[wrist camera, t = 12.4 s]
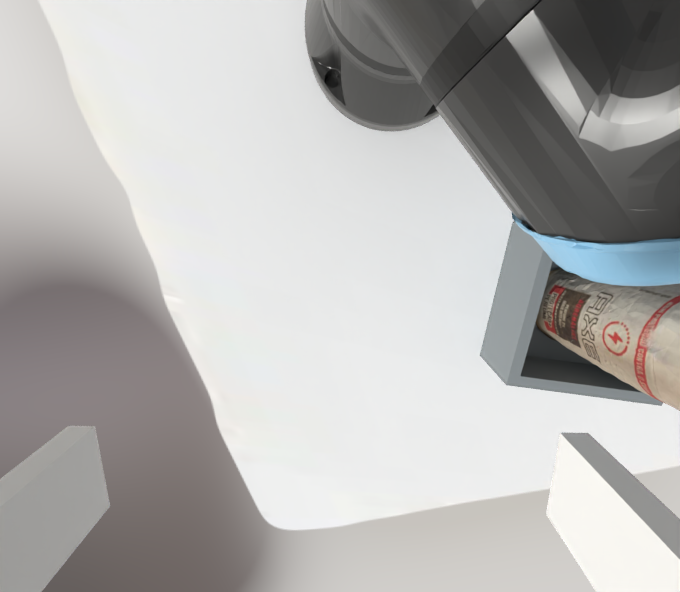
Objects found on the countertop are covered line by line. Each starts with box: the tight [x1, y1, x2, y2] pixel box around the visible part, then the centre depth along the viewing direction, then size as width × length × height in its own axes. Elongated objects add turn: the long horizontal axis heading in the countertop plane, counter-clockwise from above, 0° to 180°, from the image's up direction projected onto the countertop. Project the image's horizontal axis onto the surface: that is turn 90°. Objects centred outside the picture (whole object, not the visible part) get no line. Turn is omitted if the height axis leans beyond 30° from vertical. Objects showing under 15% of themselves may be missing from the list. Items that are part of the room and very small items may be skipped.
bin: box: [480, 222, 663, 406], centre depth 33 cm, size 14×14×6 cm
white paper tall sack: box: [535, 267, 680, 411], centre depth 25 cm, size 8×8×20 cm
